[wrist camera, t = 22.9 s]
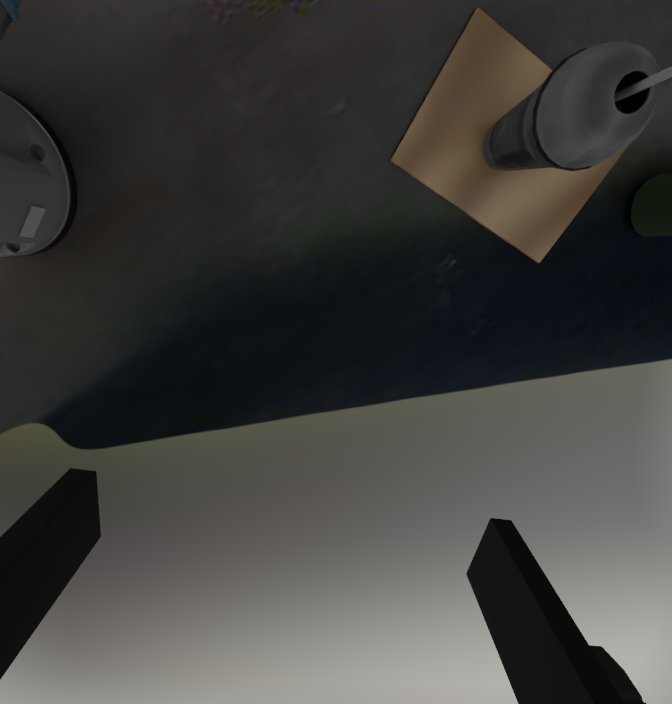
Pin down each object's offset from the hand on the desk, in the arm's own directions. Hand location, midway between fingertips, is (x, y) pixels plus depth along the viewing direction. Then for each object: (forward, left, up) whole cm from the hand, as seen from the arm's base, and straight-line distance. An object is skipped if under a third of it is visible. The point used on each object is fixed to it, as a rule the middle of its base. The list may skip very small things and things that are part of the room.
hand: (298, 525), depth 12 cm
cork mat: (+9, +24, -31) cm, 40 cm away
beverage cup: (+8, +24, -30) cm, 40 cm away
